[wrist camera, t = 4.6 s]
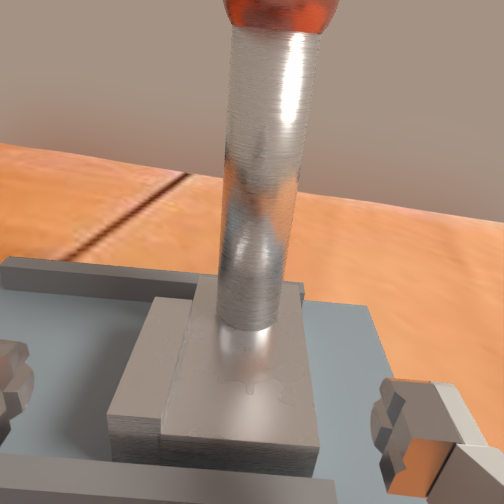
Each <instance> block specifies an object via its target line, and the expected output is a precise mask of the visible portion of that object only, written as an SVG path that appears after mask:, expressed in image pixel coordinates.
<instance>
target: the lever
mask: <svg viewBox="0 0 504 504" xmlns="http://www.w3.org/2000/svg"><path fill="white" fill-rule="evenodd" d="M223 3H224V7H225V10H226V13H227V15H228V18H229V20H230V22H231V24H232V39H231V58H230V75H229V76H230V77H229V93H228V109H227V128H226V145H225V162H224V179H223V196H222V214H221V231H220V249H219V266H218V278H215V277H204V276H199V280H198V284H197V288H196V291H195V295H194V299H193V303H192V300H187V299H176V298H165V297H155V298H154V300H153V303H152V305H151V308H150V310H149V312H148V315H147V317H146V320H145V322H144V325H143V327H142V329H141V332H140V334H139V337H138V339H137V341H136V344H135V346H134V349H133V351H132V354H131V356H130V358H129V361H128V363H127V366H126V368H125V370H124V373H123V375H122V378H121V380H120V382H119V385H118V387H117V390H116V392H115V395H114V397H113V399H112V402H111V404H110V407H109V409H108V411H107V414H106V415H107V423H108V430H109V438H110V446H111V454H112V462H119V463H131V464H144V465H156V466H168V467H181V468H193V469H206V470H218V471H231V472H243V473H256V474H268V475H280V476H293V477H305V478H312V476H313V472H314V468H315V465H316V461H317V457H318V454H319V450H320V441H319V434H318V426H317V419H316V412H315V404H314V397H313V390H312V382H311V375H310V368H309V360H308V353H307V346H306V338H305V331H304V324H303V316H302V309H301V302H300V294H299V287H298V285H292V284H283V280H284V274H285V267H286V260H287V254H288V247H289V241H290V234H291V228H292V221H293V214H294V208H295V201H296V195H297V188H298V181H299V175H300V168H301V162H302V155H303V148H304V142H305V135H306V129H307V123H308V116H309V109H310V103H311V95H312V89H313V83H314V76H315V70H316V63H317V56H318V50H319V44H320V37H321V34H322V33H323V31H324V30H325V29H326V28H327V26H328V25H329V23H330V21H331V20H332V18H333V16H334V14H335V12H336V9H337V6H338V3H339V0H223Z"/></svg>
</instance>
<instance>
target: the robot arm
mask: <svg viewBox="0 0 504 504" xmlns="http://www.w3.org/2000/svg"><path fill="white" fill-rule="evenodd" d="M29 355H30V354H29V351H28V347H27V344H26V343H23V342H19V341H11V340H3V339H0V447H1V445H2V443H3V442H4V440H5V439H6V437H7V436H8V434H9V433H10V431H11V425H10V420H11V419H13V418H14V417H16V416H18V415H19V414H21V413H22V412H23V411H24V409H25V408H26V406H27V404H28V403H29V401H30V398H31V395H32V392H33V389H34V373H33V370H32V369H31V368H30V367H29V366H28V365H27V364H26V363H25V361H26V360H27V358H28V357H29ZM379 391H380V394H381V397H382V398H380V399H379V400H378V401H376V402H375V403H374V405H373V408H372V411H371V418H370V429H371V436H372V440H373V444H374V446H375V447H376V448H377V449H378V450H379V451H380V452H381V453H382V454H383V455H382V457H381V460H380V462H379V466H380V470H381V474H382V477H383V481H384V484H385V488H386V492H387V494H394V495H402V496H411V497H419V498H427V499H426V501H427V502H428V504H504V453H502V452H501V451H500V450H499V449H497V448H496V447H489V445H488V443H487V442H486V440H485V438H484V436H483V435H482V433H481V431H480V429H479V427H478V426H477V424H476V422H475V420H474V418H473V417H472V415H471V413H470V411H469V409H468V408H467V406H466V404H465V402H464V400H463V399H462V397H461V395H460V393H459V392H458V390H457V388H456V387H455V386H454V385H453V384H452V383H444V382H432V381H429V382H427V381H420V380H409V379H397V378H385V379H384V380H383V381H382V383H381V385H380V388H379Z"/></svg>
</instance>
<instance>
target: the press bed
mask: <svg viewBox="0 0 504 504" xmlns="http://www.w3.org/2000/svg"><path fill="white" fill-rule="evenodd" d="M199 276H204V277H215V278H218V275H211V274H200V273H189V272H178V271H167V270H155V269H144V268H133V267H122V266H111V265H100V264H89V263H78V262H67V261H56V260H45V259H34V258H22V257H11V256H9V257H8V258H7V259H6V260H4V261H3V262H2V263H1V264H0V339H3V340H11V341H19V342H23V343H26V344H27V347H28V351H29V354H30V355H29V357H28V358H27V360H26V361H25V363H26V364H27V365H28V366H29V367H30V368H31V369H32V370H33V373H34V389H33V392H32V395H31V398H30V401H29V403H28V404H27V406H26V408H25V409H24V411H23V412H22V413H21V414H19V415H18V416H16V417H14V418H13V419H11V420H10V425H11V431H10V433H9V434H8V436H7V437H6V439H5V440H4V442H3V443H2V445H1V447H0V504H428V502H427V501H426V499H427V498H419V497H411V496H402V495H394V494H387V492H386V488H385V484H384V481H383V477H382V474H381V470H380V466H379V462H380V460H381V457H382V455H383V454H382V453H381V452H380V451H379V450H378V449H377V448H376V447H375V446H374V444H373V440H372V436H371V429H370V418H371V411H372V408H373V405H374V403H375V402H376V401H378V400H379V399H380V398H382V397H381V394H380V391H379V388H380V385H381V383H382V381H383V380H384V379H385V378H394V376H393V373H392V371H391V368H390V365H389V363H388V360H387V358H386V355H385V352H384V350H383V347H382V344H381V342H380V339H379V336H378V334H377V331H376V328H375V326H374V323H373V320H372V318H371V315H370V313H369V310H368V307H367V306H363V305H352V304H340V303H329V302H318V301H307V300H304V295H305V292H304V285H303V283H300V282H288V281H283V284H292V285H298V287H299V294H300V302H301V309H302V316H303V324H304V331H305V338H306V346H307V353H308V360H309V368H310V375H311V382H312V390H313V397H314V404H315V412H316V419H317V426H318V434H319V441H320V450H319V454H318V457H317V461H316V465H315V468H314V472H313V476H312V478H305V477H293V476H280V475H268V474H256V473H243V472H231V471H218V470H206V469H193V468H181V467H168V466H156V465H144V464H131V463H119V462H112V454H111V446H110V438H109V430H108V423H107V415H106V414H107V411H108V409H109V407H110V404H111V402H112V399H113V397H114V395H115V392H116V390H117V387H118V385H119V382H120V380H121V378H122V375H123V373H124V370H125V368H126V366H127V363H128V361H129V358H130V356H131V354H132V351H133V349H134V346H135V344H136V341H137V339H138V337H139V334H140V332H141V329H142V327H143V325H144V322H145V320H146V317H147V315H148V312H149V310H150V308H151V305H152V303H153V300H154V298H155V297H165V298H176V299H187V300H192V303H193V299H194V295H195V291H196V288H197V284H198V280H199Z"/></svg>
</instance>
